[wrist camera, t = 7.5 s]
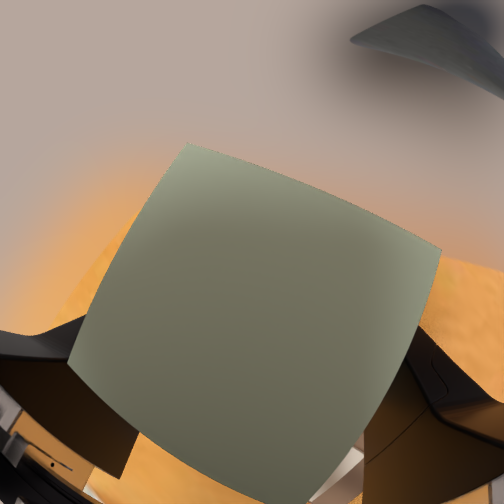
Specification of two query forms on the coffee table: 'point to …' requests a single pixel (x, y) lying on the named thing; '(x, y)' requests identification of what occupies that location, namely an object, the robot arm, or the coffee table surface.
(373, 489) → the robot arm
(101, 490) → the coffee table surface
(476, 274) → the coffee table surface
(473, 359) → the coffee table surface
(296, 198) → the sage block
